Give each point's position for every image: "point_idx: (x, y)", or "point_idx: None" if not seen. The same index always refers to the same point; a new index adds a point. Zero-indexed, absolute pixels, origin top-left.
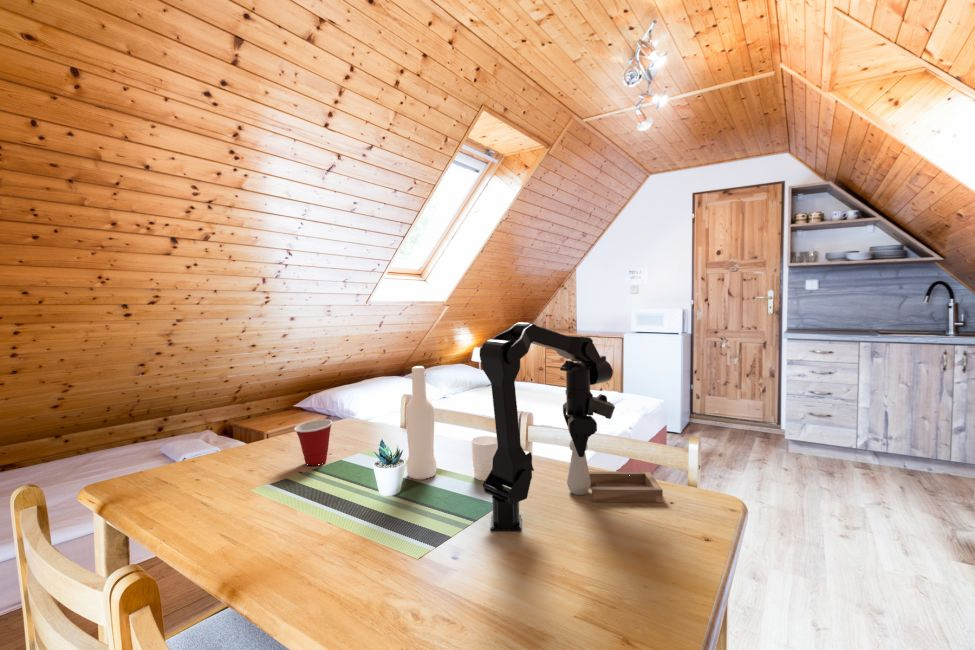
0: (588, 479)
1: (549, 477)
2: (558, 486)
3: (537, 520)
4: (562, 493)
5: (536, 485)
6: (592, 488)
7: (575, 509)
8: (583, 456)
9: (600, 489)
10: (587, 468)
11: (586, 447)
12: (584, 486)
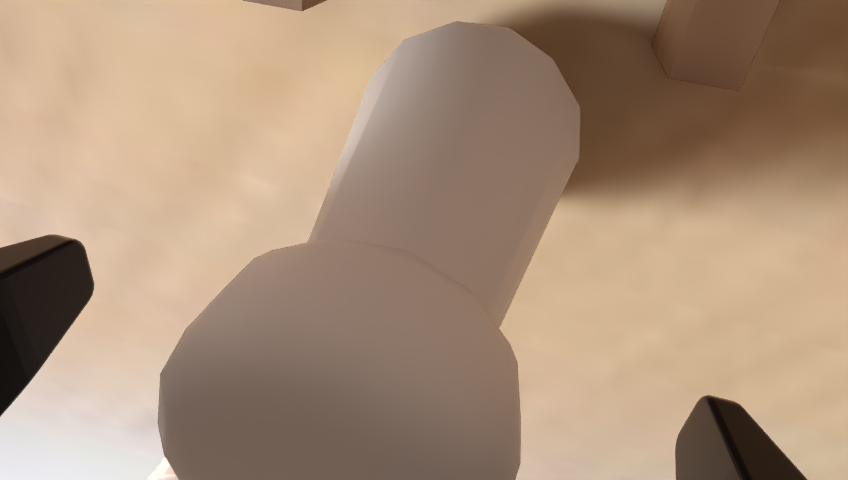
0: (543, 84)
1: (206, 226)
2: None
3: (826, 461)
4: None
5: None
6: (712, 85)
7: (784, 232)
8: (737, 407)
9: (774, 1)
10: (485, 116)
11: (459, 319)
12: (578, 122)
